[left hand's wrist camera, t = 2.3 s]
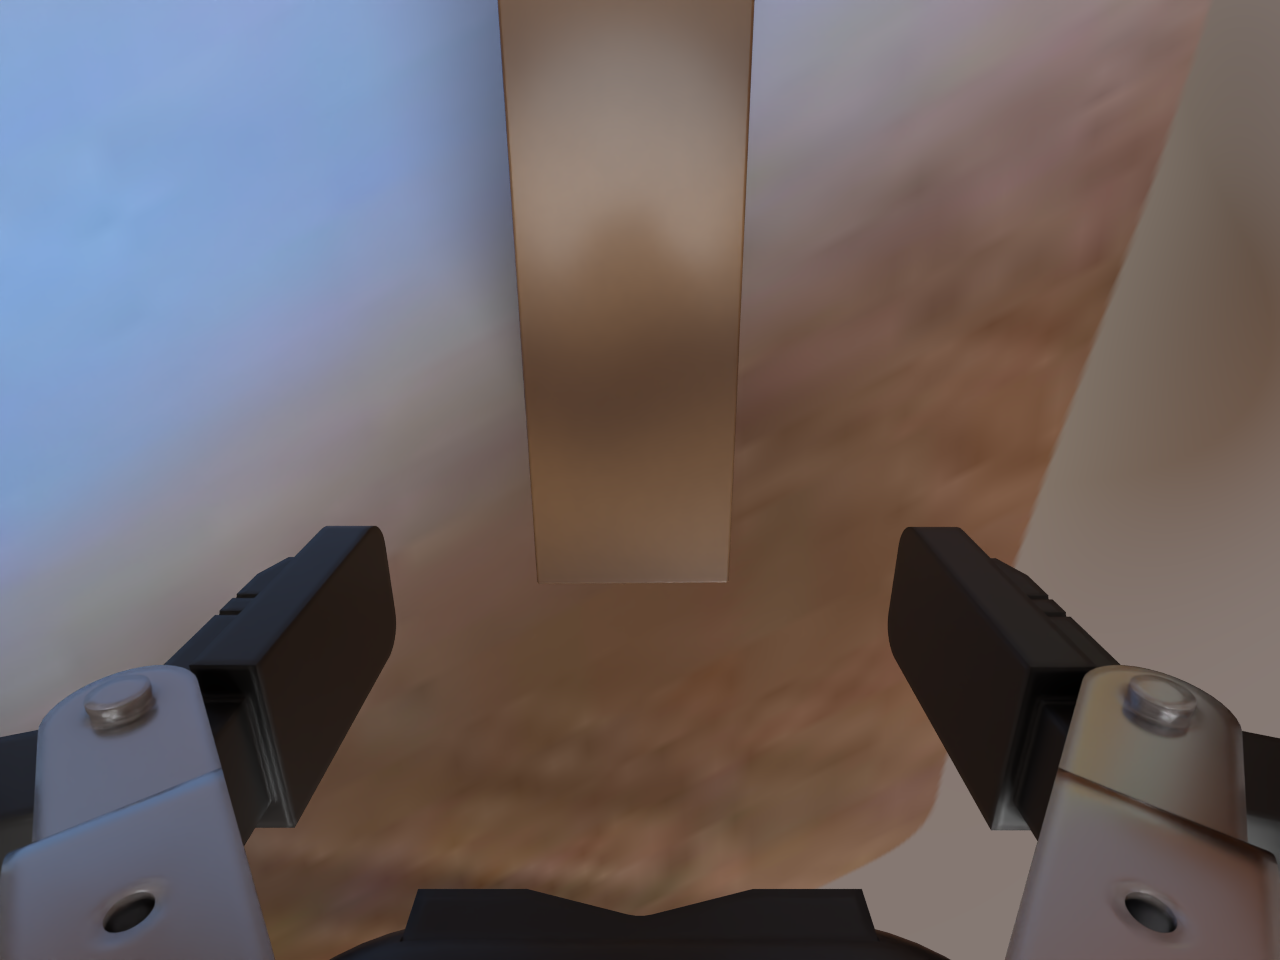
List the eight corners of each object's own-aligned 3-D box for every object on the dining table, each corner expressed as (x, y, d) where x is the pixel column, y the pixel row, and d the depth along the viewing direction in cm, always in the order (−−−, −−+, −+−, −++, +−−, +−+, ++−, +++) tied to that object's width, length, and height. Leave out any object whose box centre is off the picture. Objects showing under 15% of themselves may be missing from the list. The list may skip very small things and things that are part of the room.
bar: (702, 474, 27) (728, 583, 19) (566, 475, 27) (536, 585, 19) (726, -391, 18) (792, -830, 10) (524, -390, 18) (440, -829, 10)
